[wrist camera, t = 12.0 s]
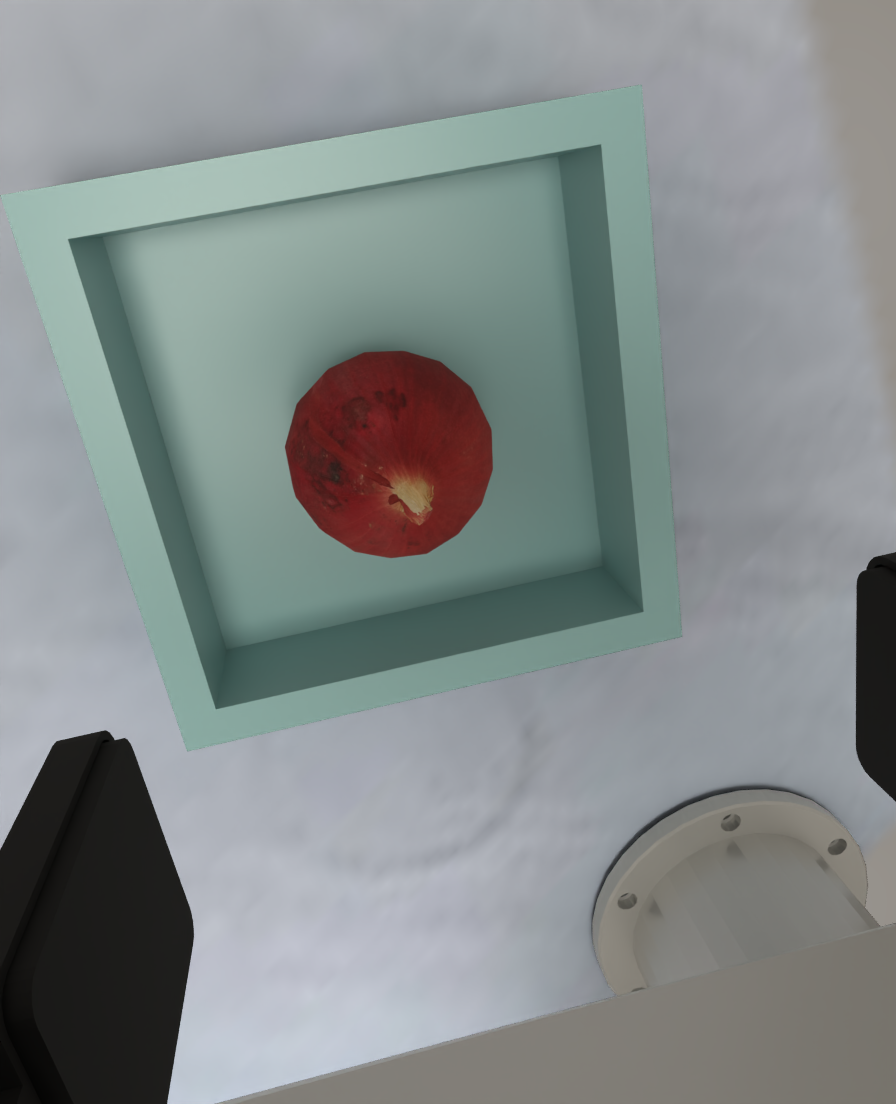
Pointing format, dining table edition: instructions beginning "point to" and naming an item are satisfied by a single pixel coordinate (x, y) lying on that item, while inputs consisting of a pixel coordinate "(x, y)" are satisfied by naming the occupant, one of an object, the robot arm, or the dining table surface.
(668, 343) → the dining table surface
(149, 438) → the bin
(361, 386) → the pomegranate
